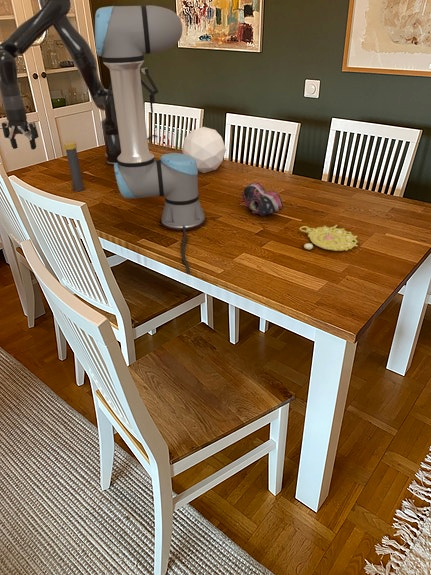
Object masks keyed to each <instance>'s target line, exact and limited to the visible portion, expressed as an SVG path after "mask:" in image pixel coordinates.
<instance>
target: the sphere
mask: <svg viewBox="0 0 431 575" xmlns="http://www.w3.org/2000/svg"><path fill="white" fill-rule="evenodd" d="M226 151H227V148H226V145H225V142H224V140H223V137H222V136H221V134H219V132H218V131H217V130H216V129H213V128H211V127H206V126H202V127H198V128H195V129H191V131H189V133H188V134H187V135H186V136H185V137H184V141H183V145H182V148H181V152H182V154H185V155H188V156H191V157H192V158H194V159H195V161H196V163H197V171H198V173H203V174H206V173H210V172H212V171H216V170H217V169H218V168H219V167H220V165H221V164H222V163H223V161H224V158H225V155H226V153H227V152H226Z"/></svg>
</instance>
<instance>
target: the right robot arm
mask: <svg viewBox="0 0 431 575" xmlns="http://www.w3.org/2000/svg"><path fill="white" fill-rule="evenodd" d="M182 35H183V23H182V20H181V18H180V16H179V15H178V14H177V13H176V12H174V11H173V10H172V9H170V8H166V7H163V6H158V5H148V4H147V5H127V6H126V5H119V6H117V5H111V6H103V7H99V8H98V9H97V10H96V12H95V15H94V40H95V41H94V42H95V53H96V55H97V57H98V56H99V57H102V62H103V65H105V66H106V68H108V70H109V74H110V83H109V85H108V88H107V90H108V92H107V95H108V96H111V97H112V100H113V105H114V106H115V110H116V117H117V124H118V132H119V139H120V146H121V154H120V155H119V156H118V158H117V159H118V163H115V164H114V165H113V170H114V175H115V181H116V183H117V187H118V190H119V192H120V195H121V196H122V198H124V199H134V200H135V199H136V200H138V199H146V198H157V197H164V204H163V209H162V213H161V219H160V220H161V225H162V227H163V228H165V229H167V230H170V231H175V232H176V231H177V232H182V233H183V240H182V243H181V258H182V261H183V263H184V265H185V268H186V273H187V275H190V274H191V269H190V265H189V263H188V262H187V259H186V256H185V245H186V242H187V231H192V230H195V229H198V228H201V227H202V226H203V225H204V224H205V223H206V215H205V212H204V210H203V208H202V204H201V202H200V196H199V179H198V177H199V176H198V174H199V171H197V163H196V161H195V159H194V158H192V157H191V156H188V155H185V154H183V153H178V152H170V153H169V152H168V153H163V154H162V155H161V156H160V159H157V160H156V159H155V154H153V153H152V152H151V151H150V149H149V143H148V142H149V141H148V140H147V138H148V134H147V132H148V131H147V125H146V124H147V123H146V113H145V106H144V97H143V96H144V95H143V87H144V88H145V89H146V90H147V91H148V93H149V94H148V96H149V105H150V114H153V113H154V107H153V104H155V103H156V100H155V95H157V94H158V93H159V89H158V87H157V85H156V84H155V82H154V80H153V78H152V76H151V75H150V73H149V69H148V67H143V68H141V66H142V65H143V64H144V63H145V55H146V54H147V55H148V54H149V55H150V54H157V53H161V52H164V51H168V50H169V49H171V48H173V47H174V46H176V45H177V44H178V43H179V42H180V40H181V39H182ZM142 73H143V75H145V76H146V78H147V80H148V82H149V83H150V85H151V87H152V88H151V87H150V86H149V85H148V84H147V82H145V81H144V79H142V77H141V76H142V75H141V74H142ZM111 90H113V93H111Z"/></svg>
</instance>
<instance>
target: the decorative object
mask: <svg viewBox="0 0 431 575" xmlns="http://www.w3.org/2000/svg"><path fill="white" fill-rule="evenodd" d="M303 228H304V229H305V230H304V229H303ZM299 231H300V232H303V233H305V234H307V237H308V238H309V240H310V241H311V243H304V244H303V248H304V249H305V250H313V249H314V245H315V246H316V247H318V248H321V249H324V250H328V251H335V252H341V251H348V250H352V249H354V247H356V248H358V247H359V245H358V244H357V243H359V240H357V238H359V237H358V235H353V234H352V231H347V230H346V229H345V228H344V227H342V228H338V224H335V225H333V226H331V227H328V226H327V225H326V224H325V225H323V226H322V227H321V226H317V227H316V228H314V227H309V226H308V225H302V226H300V227H299ZM313 244H314V245H313Z"/></svg>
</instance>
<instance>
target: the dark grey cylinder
mask: <svg viewBox="0 0 431 575" xmlns="http://www.w3.org/2000/svg"><path fill="white" fill-rule="evenodd" d="M65 154H66V158H67V162H68V167H69V173H70V177H71V182H72V188H73V191H74V192H82V191H84V190H85V186H84V182H83V177H82V176H83V175H82V171H81V166H80V161H79V157H78V150H77V148H76V149H72V150H66V149H65Z"/></svg>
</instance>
